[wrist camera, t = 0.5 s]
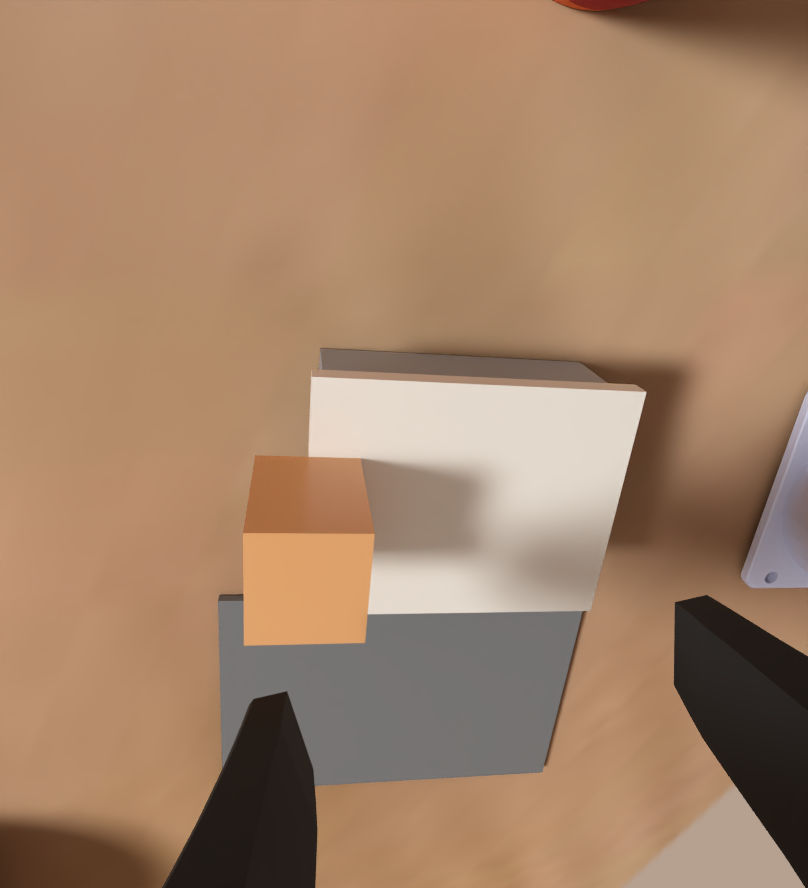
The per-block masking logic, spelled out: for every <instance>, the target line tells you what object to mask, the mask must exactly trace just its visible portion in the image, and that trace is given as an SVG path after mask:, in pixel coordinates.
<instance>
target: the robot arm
mask: <svg viewBox="0 0 808 888" xmlns="http://www.w3.org/2000/svg"><path fill="white" fill-rule="evenodd" d="M767 574H769V575H767ZM766 575H767V576H766ZM741 579H742V581H743V582H744V583H745V584H746V585H748V586H749V587H751V588H808V392H807V394H806V395H805V398H804V400H803V403H802V406H801V409H800V411H799V414H798V417H797V420H796V423H795V425H794V428H793V431H792V434H791V436H790V439H789V442H788V445H787V447H786V450H785V453H784V456H783V459H782V461H781V464H780V467H779V470H778V472H777V475H776V478H775V481H774V484H773V486H772V489H771V492H770V495H769V497H768V500H767V503H766V506H765V508H764V511H763V514H762V517H761V520H760V522H759V525H758V528H757V531H756V533H755V536H754V539H753V542H752V544H751V547H750V550H749V553H748V556H747V558H746V561H745V564H744V567H743V569H742V572H741ZM674 686H675V688H676V689H677V691H678V693H679V695H680V697H681V699H682V701H683V703H684V705H685V707H686V709H687V711H688V712H689V714H690V716H691V718H692V720H693V722H694V723H695V725H696V727H697V729H698V731H699V732H700V734H701V736H702V738H703V739H704V741H705V742H706V744H707V745H708V747H709V748H710V749H711V751H712V752H713V754H714V755H715V757H716V758H717V760H718V761H719V763H720V764H721V765H722V767H723V768H724V770H725V771H726V773H727V774H728V776H729V777H730V778H731V780H732V781H733V783H734V784H735V786H736V787H737V788H738V790H739V791H740V793H741V794H742V795H743V797H744V798H745V800H746V801H747V803H748V804H749V806H750V807H751V808H752V810H753V811H754V812H755V814H756V816H757V817H758V818H759V820H760V821H761V823H762V824H763V826H764V827H765V828H766V830H767V831H768V833H769V834H770V836H771V837H772V838H773V840H774V841H775V843H776V844H777V845H778V847H779V848H780V850H781V851H782V853H783V854H784V855H785V857H786V858H787V860H788V861H789V863H790V865H791V866H792V868H793V869H794V871H795V872H796V874H797V875H798V877H799V878H800V880H801V881H802V883H803V885H804V886H805V888H808V656H806V655H804V654H803V653H801V652H799V651H798V650H796V649H794V648H793V647H791V646H789V645H788V644H786V643H784V642H783V641H781V640H779V639H778V638H776V637H775V636H773V635H771V634H770V633H768V632H766V631H765V630H763V629H761V628H760V627H758V626H757V625H755V624H753V623H752V622H750V621H749V620H747V619H745V618H744V617H742V616H740V615H739V614H737V613H736V612H734V611H732V610H731V609H729V608H728V607H726V606H724V605H723V604H721V603H719V602H718V601H716V600H714V599H713V598H711V597H709V596H708V595H705V596H701V597H696V598H692V599H687V600H683V601H679V602H675V641H674ZM316 852H317V815H316V798H315V784H314V769H313V766H312V763H311V761H310V758H309V755H308V752H307V749H306V746H305V743H304V740H303V737H302V734H301V731H300V728H299V725H298V722H297V719H296V716H295V713H294V710H293V707H292V704H291V701H290V698H289V695H288V692H287V691H286V692H281V693H277V694H273V695H268V696H264V697H260V698H255V699H253V700H252V702H251V703H250V704H249V706H248V709H247V711H246V714H245V716H244V719H243V721H242V724H241V726H240V729H239V731H238V734H237V736H236V739H235V741H234V743H233V746H232V748H231V751H230V753H229V755H228V757H227V760H226V762H225V764H224V766H223V769H222V771H221V773H220V775H219V778H218V780H217V782H216V784H215V786H214V788H213V790H212V792H211V794H210V797H209V799H208V801H207V803H206V805H205V807H204V809H203V811H202V813H201V815H200V817H199V820H198V822H197V823H196V825H195V827H194V829H193V831H192V833H191V835H190V837H189V839H188V841H187V842H186V844H185V846H184V848H183V850H182V852H181V854H180V856H179V858H178V859H177V861H176V863H175V865H174V867H173V869H172V871H171V873H170V874H169V876H168V878H167V880H166V882H165V883H164V885H163V887H162V888H315V878H316Z"/></svg>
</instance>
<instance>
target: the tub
mask: <svg viewBox="0 0 808 888" xmlns="http://www.w3.org/2000/svg"><path fill="white" fill-rule="evenodd" d="M319 369H320V370H341V371H362V372H383V373H404V374H425V375H446V376H467V377H488V378H509V379H530V380H551V381H572V382H593V383H607V382H605V381H604V380H603V379H601V378H600V377H599V376H598V375H596V374H595V373H594V372H592V371H591V370H590V369H588V368H587V367H586V366H584V365H583V364H582V363H580V362H569V361H550V360H532V359H513V358H494V357H475V356H456V355H437V354H419V353H400V352H381V351H362V350H343V349H324V348H320V367H319Z"/></svg>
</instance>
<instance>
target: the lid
mask: <svg viewBox="0 0 808 888" xmlns="http://www.w3.org/2000/svg"><path fill="white" fill-rule="evenodd" d="M645 396H646V391H644V390H643V389H642V388H640V387H639V386H637V385H635V384H614V383H593V382H572V381H551V380H530V379H509V378H488V377H467V376H446V375H425V374H404V373H383V372H362V371H341V370H320V369H311V395H310V420H309V446H308V457H291V456H255V461H254V468H253V474H252V480H251V487H250V493H249V499H248V506H247V512H246V518H245V525H244V531H243V587H244V646H255V645H299V644H343V643H365V638H366V627H367V616H368V614H423V613H488V612H553V611H590V610H591V607H592V603H593V599H594V595H595V591H596V587H597V583H598V579H599V575H600V572H601V568H602V564H603V560H604V556H605V552H606V548H607V544H608V540H609V536H610V533H611V529H612V525H613V521H614V517H615V513H616V509H617V505H618V501H619V498H620V494H621V490H622V486H623V482H624V478H625V474H626V470H627V466H628V463H629V459H630V455H631V451H632V447H633V443H634V439H635V435H636V431H637V427H638V424H639V420H640V416H641V412H642V408H643V404H644V400H645Z"/></svg>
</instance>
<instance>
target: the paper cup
mask: <svg viewBox="0 0 808 888" xmlns="http://www.w3.org/2000/svg"><path fill="white" fill-rule="evenodd" d="M553 1H555V2H557V3H559V4H562V5H564V6H567V7H571V8H575V9H580V10H592V11H599V10H610V9H615V8H621V7H626V6H630V5H634V4H638V3H642V2H646V1H650V0H553Z"/></svg>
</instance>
